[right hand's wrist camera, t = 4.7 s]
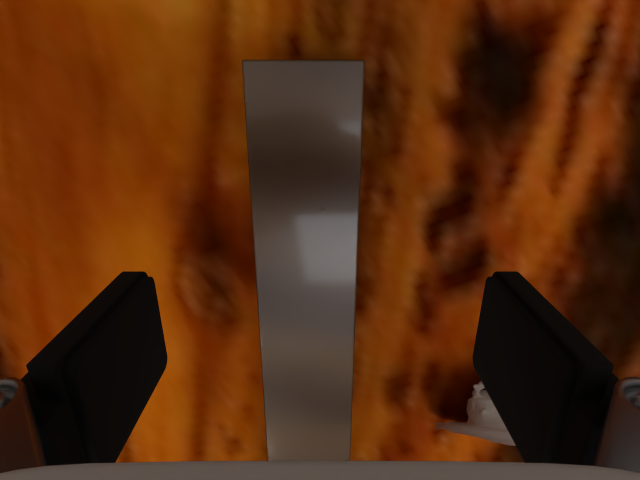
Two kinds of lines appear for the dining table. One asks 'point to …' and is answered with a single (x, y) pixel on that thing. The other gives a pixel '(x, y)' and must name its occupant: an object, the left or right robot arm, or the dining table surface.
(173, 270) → the dining table surface
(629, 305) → the dining table surface
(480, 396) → the seashell
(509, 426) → the right robot arm
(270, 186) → the beam
